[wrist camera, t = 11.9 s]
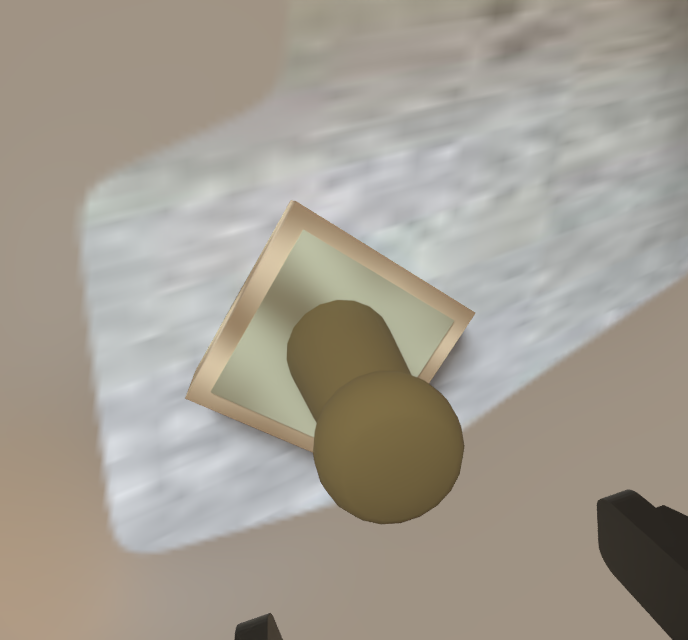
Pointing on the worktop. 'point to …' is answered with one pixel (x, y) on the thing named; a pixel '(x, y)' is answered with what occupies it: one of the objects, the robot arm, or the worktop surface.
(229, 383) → the tray
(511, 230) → the worktop surface
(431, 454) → the olive brown ball-ended cylinder
